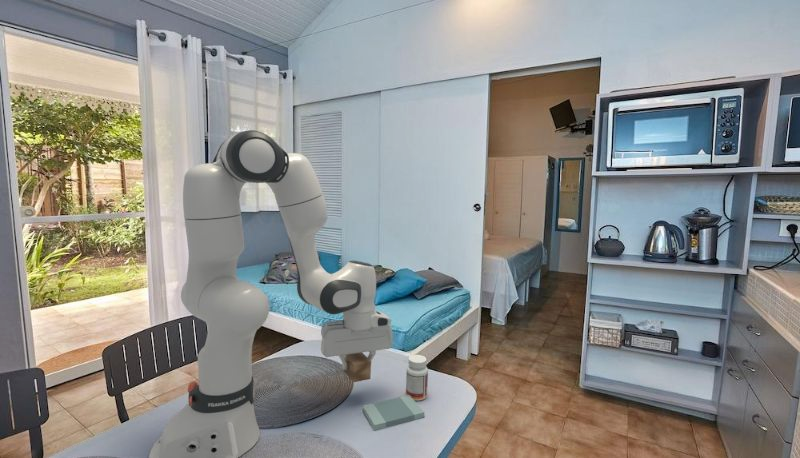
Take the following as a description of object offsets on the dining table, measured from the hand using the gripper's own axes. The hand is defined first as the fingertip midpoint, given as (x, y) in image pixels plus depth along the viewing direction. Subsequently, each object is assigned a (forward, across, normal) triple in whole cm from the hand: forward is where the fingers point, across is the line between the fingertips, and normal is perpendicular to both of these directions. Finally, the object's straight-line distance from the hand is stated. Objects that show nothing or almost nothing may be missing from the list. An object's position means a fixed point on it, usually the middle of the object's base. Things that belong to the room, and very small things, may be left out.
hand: (356, 366), depth 104 cm
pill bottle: (+9, +17, -5) cm, 20 cm away
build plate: (+10, +7, -10) cm, 16 cm away
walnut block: (+2, 0, 0) cm, 2 cm away
